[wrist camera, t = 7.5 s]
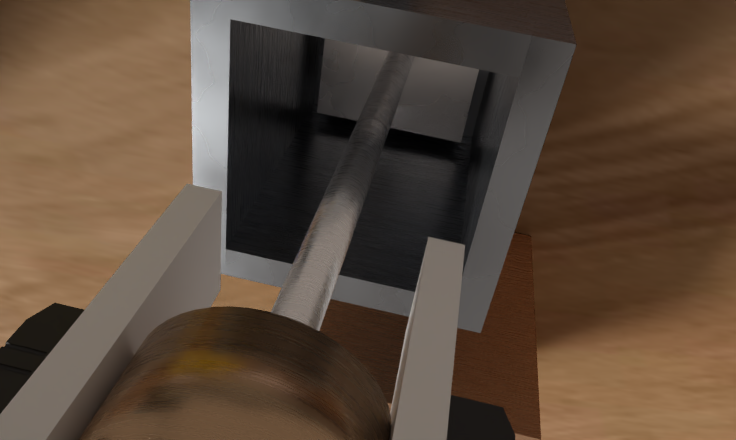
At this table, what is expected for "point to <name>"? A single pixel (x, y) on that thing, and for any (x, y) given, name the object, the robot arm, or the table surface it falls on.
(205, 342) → the tan and silver rod
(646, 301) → the table surface
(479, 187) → the grey box
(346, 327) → the light wood box
